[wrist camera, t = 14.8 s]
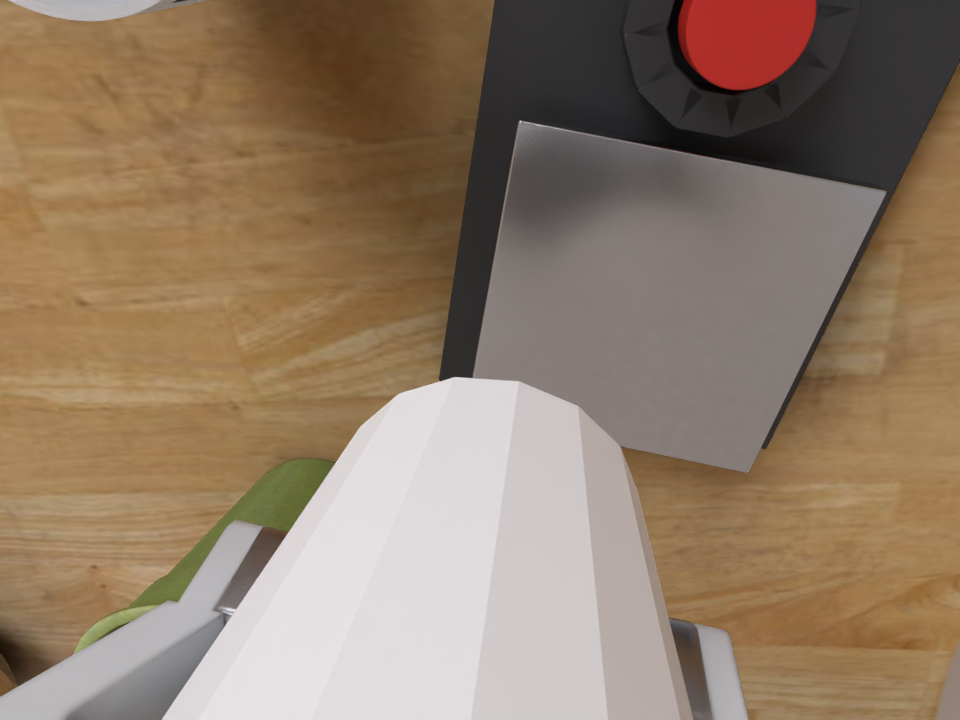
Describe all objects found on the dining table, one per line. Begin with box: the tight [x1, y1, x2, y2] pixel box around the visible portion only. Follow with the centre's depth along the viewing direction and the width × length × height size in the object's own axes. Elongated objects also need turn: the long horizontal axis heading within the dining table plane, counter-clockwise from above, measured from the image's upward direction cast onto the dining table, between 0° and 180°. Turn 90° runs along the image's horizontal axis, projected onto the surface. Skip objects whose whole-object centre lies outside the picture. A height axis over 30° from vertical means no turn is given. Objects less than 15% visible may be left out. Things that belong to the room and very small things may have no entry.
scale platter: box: [472, 116, 887, 473], centre depth 22 cm, size 11×11×1 cm
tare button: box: [678, 0, 816, 90], centre depth 17 cm, size 3×3×2 cm
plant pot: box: [75, 459, 335, 654], centre depth 29 cm, size 12×12×11 cm
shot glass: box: [162, 377, 693, 720], centre depth 9 cm, size 7×7×7 cm
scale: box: [439, 0, 960, 449], centre depth 22 cm, size 18×14×3 cm
